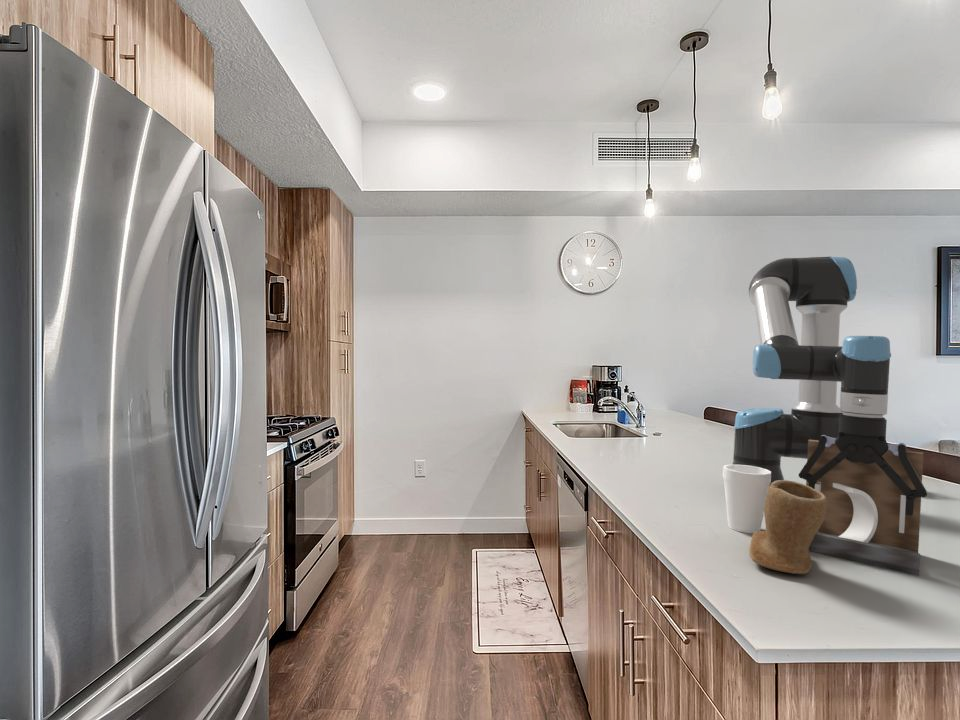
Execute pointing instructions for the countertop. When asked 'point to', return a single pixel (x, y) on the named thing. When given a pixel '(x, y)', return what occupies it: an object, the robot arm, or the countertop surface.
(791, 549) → the tan suede boot
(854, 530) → the white curved saddle bracket
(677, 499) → the countertop surface
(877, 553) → the board
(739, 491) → the foam cup
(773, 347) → the robot arm
